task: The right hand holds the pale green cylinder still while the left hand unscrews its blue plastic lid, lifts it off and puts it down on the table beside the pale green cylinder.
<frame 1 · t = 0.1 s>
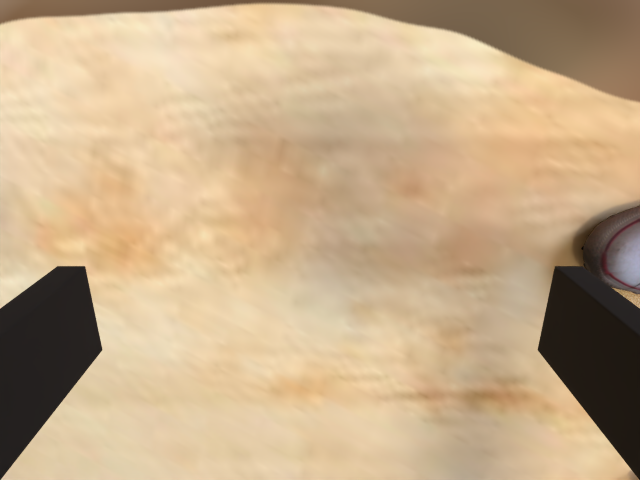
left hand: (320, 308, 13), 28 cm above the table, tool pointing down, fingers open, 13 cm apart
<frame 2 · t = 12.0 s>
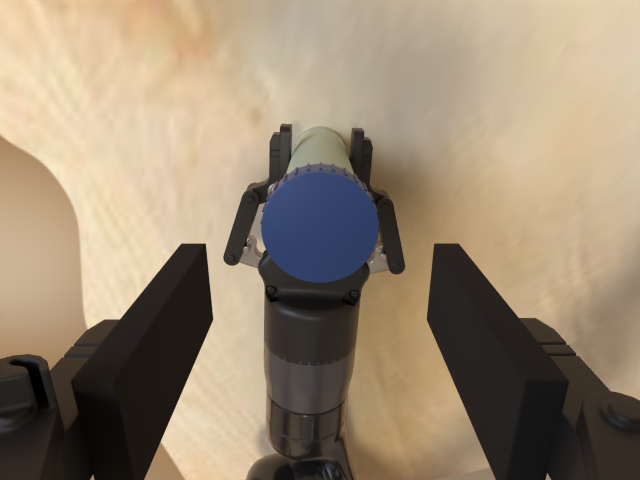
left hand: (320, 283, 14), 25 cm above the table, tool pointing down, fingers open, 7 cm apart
right hand: (321, 128, 30), fingers closed on pale green cylinder, 4 cm apart
lid: (320, 227, 19), point 19 cm above the table, screwed on, not yet turned
pale green cylinder: (319, 152, 37), on the table, touching right hand
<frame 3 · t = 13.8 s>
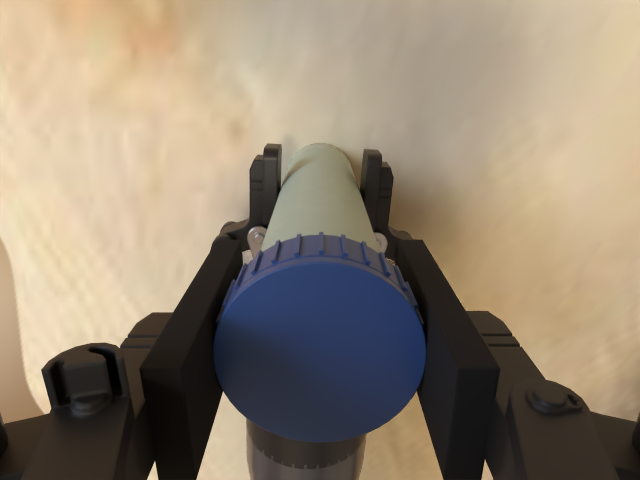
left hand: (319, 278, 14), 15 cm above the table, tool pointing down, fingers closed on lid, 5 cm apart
lid: (319, 351, 11), point 19 cm above the table, screwed on, not yet turned, touching left hand
pale green cylinder: (319, 176, 29), on the table, touching right hand
when the left hand's fingers open (15 cm above the table, at t = 15.1 s): lid stays where it is, point 19 cm above the table.
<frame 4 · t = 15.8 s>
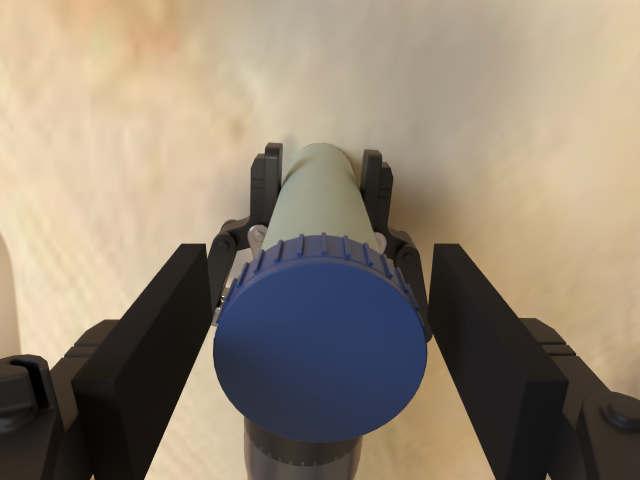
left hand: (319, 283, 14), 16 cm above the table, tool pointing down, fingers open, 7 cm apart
lid: (320, 351, 11), point 19 cm above the table, turned 74° so far, risen 0.2 cm, still on its thread
pale green cylinder: (319, 175, 29), on the table, touching right hand
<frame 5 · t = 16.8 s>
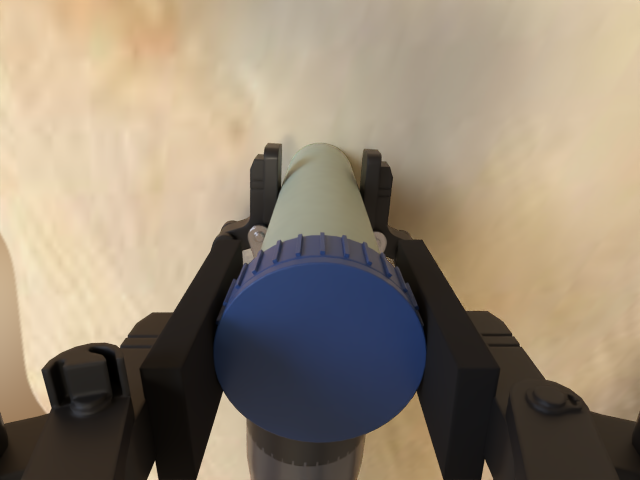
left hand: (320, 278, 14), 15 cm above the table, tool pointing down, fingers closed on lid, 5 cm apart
lid: (319, 351, 11), point 19 cm above the table, turned 74° so far, risen 0.2 cm, still on its thread, touching left hand
pale green cylinder: (319, 175, 29), on the table, touching right hand
when the left hand's fingers open (0 cm above the table, at t = 23.0 s): lid drops 3 cm, point 1 cm above the table.
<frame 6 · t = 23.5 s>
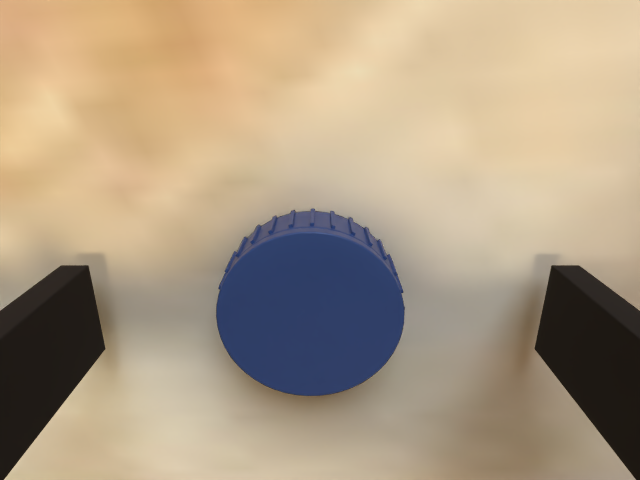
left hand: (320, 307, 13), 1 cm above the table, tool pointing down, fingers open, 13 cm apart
lid: (310, 313, 12), point 1 cm above the table, off its thread
when the right hand's fingers open (6 cm above the table, at t = 24.1 s): pale green cylinder stays where it is, on the table.
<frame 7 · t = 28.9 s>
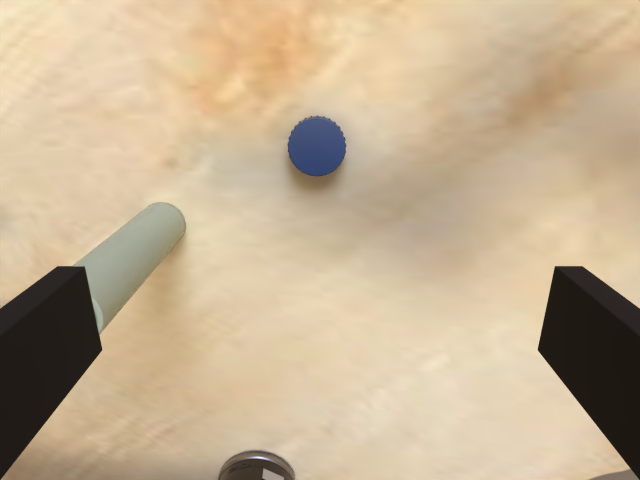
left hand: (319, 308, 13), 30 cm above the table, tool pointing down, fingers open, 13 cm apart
lid: (316, 147, 39), point 1 cm above the table, off its thread
pale green cylinder: (163, 223, 43), on the table
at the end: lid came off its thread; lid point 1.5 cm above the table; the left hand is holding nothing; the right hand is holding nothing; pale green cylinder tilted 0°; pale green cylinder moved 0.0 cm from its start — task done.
